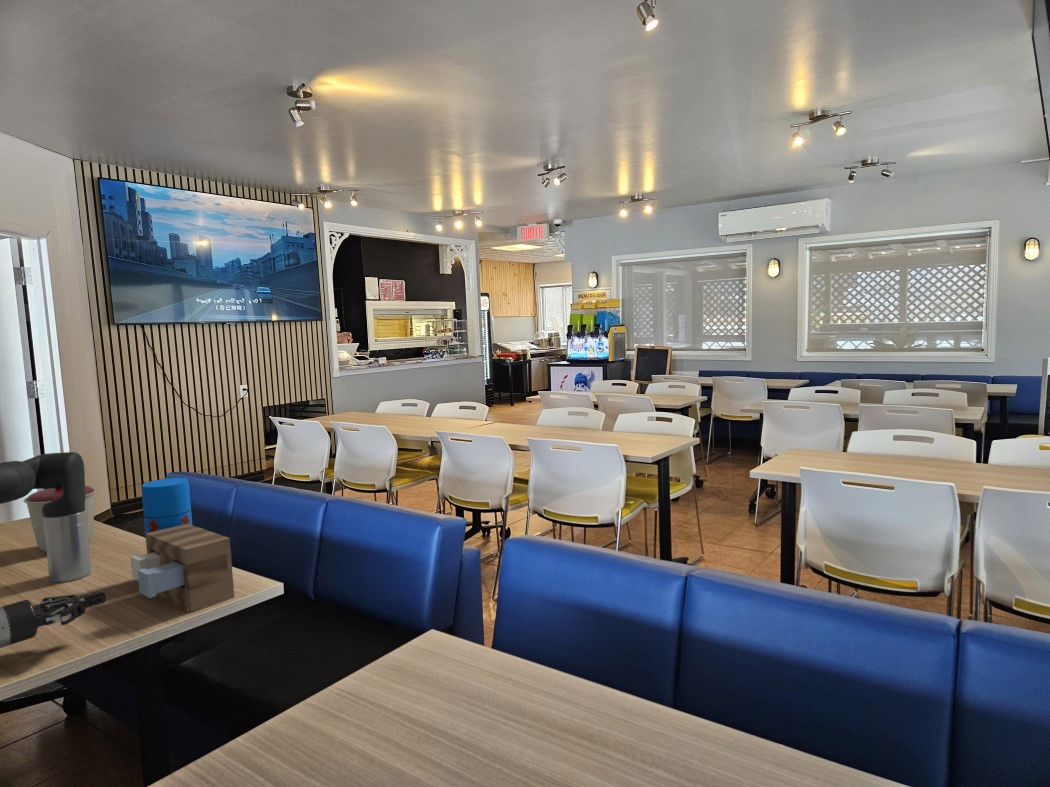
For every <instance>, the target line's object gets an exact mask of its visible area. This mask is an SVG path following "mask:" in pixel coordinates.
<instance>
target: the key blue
mask: <svg viewBox="0 0 1050 787" xmlns="http://www.w3.org/2000/svg"><path fill="white" fill-rule="evenodd" d="M137 581H138V589H139V594H141V595H142V596H145V597H147V598H149V599H150V598H154V597H157V596H158V595H157V593H160V592H163V591H166V590H170V589H173V588H176V587H179V586H182V585H185V581H184V570H183V563H182V562H179V561H175V562H172V563H168V564H165V565H161V566H158V567H154V568H151V569H145V568H144V569H140V570H138V580H137Z"/></svg>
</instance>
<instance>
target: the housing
mask: <svg viewBox="0 0 1050 787" xmlns="http://www.w3.org/2000/svg"><path fill="white" fill-rule="evenodd" d="M144 536H145V546H146V554H148V553H152V552H158V553H160V558H161V565H165V564H168V563H172V562H175V561H179V562H182V563H183V570H184V581H185V585H182V586H179V587H176V588H173V589H170V590H166V591H163V592H160V593H157V596H159V597H162V598H163V599H166V600H167V601H169V602H171V603H173V604H175V605H177V606H179V607H180V608H182V607H183V608H182V609H184V608H185V609H184V610H186V609H188V610H189V611H188V610H187V611H188V612H190V611H191V612H190V613H193V612H192V611H194V612H196V611H199V610H201V609H205V608H208V607H210V606H214V605H217V604H219V603H221V602H225V601H227V599H228V600H230V598H231V599H233V597H234V598H235V588H234V578H233V577H234V576H233V575H234V574H233V563H232V550H231V540H230V538H231V537H228V536H225V535H221V534H219V533H216V532H212V531H210V530H208V529H204V528H201V527H198V526H196V525H193V524H192V525H190V524H183V525H179V526H175V527H171V528H167V529H163V530H159V531H155V532H150V533H145V535H144ZM198 609H199V610H198ZM195 610H196V611H195Z"/></svg>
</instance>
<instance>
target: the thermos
mask: <svg viewBox="0 0 1050 787" xmlns="http://www.w3.org/2000/svg"><path fill="white" fill-rule="evenodd" d="M141 499H142V509H143V510H142V511H143V521H144V532H145V534H146V533H150V532H155V531H159V530H163V529H167V528H171V527H175V526H179V525H183V524H190V525H193V517H192V516H193V515H192V507H191V506H192V504H191V496H190V485H189V480H188V478H184V477H172V478H164V479H163V478H162V479H155V480H151V481H148V482H144V483H143V484H142V486H141Z"/></svg>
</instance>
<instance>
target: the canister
mask: <svg viewBox="0 0 1050 787" xmlns="http://www.w3.org/2000/svg"><path fill="white" fill-rule="evenodd" d="M85 493H86V498H85V512H86V521H87V531H88V541H89V543H90V542H91V541H92V538H93V535H94V534H93V533H94V522H95V520H94V519H95V493H97V489H96V488H93V487H91V486H88V485H85ZM62 495H63V488H51V489H40V490H39V491H35V492H33V493H31V494H30V495H29V494H28V497H26V498H24V499H23V502H24V503H25V504H26V506H27V511H28V513H29V518H30V523H31V526H32V531H33V534H34V537H35V541H36V544H37V546H38V548H39V550H41V551H43V552H44V553H47V550H46V541H45V532H44V523H43V514H42V507H43V505H45V504H46V503H48V502H51V501H54V500H56V499H58V498H60V497H61V496H62Z"/></svg>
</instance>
